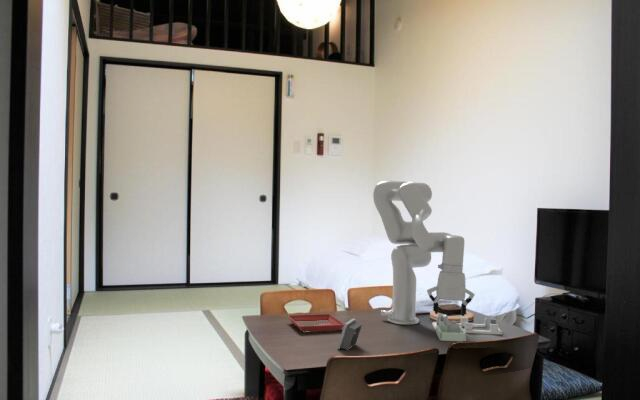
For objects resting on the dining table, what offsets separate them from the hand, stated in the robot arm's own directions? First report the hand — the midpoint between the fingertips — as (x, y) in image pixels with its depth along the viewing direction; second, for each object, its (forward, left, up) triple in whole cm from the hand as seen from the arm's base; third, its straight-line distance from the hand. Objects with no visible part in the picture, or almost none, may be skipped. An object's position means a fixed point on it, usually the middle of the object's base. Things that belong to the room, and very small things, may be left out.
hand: (449, 314), depth 200 cm
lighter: (0, -1, -8) cm, 8 cm away
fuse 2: (+18, +12, -8) cm, 23 cm away
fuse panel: (+9, +12, -8) cm, 17 cm away
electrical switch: (-36, -21, -9) cm, 43 cm away
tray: (+1, -1, -8) cm, 8 cm away
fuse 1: (-1, +12, -8) cm, 15 cm away
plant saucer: (-50, +4, -9) cm, 51 cm away
